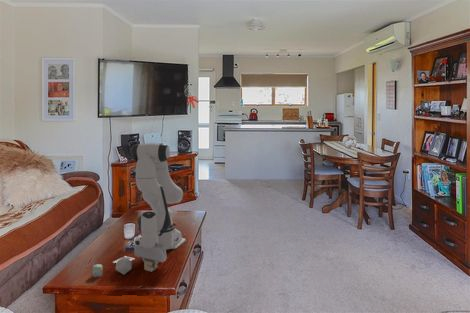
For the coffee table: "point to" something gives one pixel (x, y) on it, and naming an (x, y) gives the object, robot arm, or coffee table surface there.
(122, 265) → the die
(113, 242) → the coffee table surface
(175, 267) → the coffee table surface
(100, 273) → the pale green rounded lump
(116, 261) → the plan card
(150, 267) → the birch block
